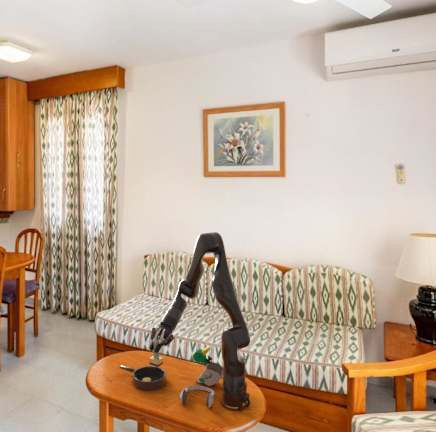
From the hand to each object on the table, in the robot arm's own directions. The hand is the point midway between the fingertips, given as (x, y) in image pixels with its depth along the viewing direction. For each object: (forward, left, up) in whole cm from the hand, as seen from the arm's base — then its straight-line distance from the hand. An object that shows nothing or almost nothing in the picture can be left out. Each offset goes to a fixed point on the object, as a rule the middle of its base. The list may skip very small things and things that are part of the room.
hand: (153, 350), depth 177 cm
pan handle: (+16, -1, -14) cm, 21 cm away
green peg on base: (0, -2, -7) cm, 7 cm away
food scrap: (+5, -1, -16) cm, 17 cm away
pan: (+3, -1, -17) cm, 17 cm away
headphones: (-22, 0, -17) cm, 28 cm away
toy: (-22, -16, -17) cm, 32 cm away
